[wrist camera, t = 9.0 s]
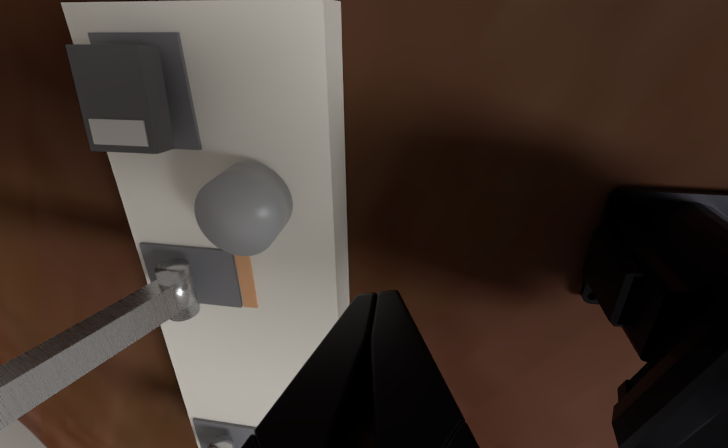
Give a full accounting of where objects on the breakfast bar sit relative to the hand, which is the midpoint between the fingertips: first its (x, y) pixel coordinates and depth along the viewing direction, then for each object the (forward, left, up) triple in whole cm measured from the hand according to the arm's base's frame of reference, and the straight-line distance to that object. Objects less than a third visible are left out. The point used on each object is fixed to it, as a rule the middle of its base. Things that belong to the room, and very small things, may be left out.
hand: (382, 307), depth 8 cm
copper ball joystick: (+12, +7, -9) cm, 16 cm away
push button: (+7, +2, -9) cm, 12 cm away
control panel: (+9, +9, -13) cm, 18 cm away
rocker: (+12, -2, -8) cm, 14 cm away
